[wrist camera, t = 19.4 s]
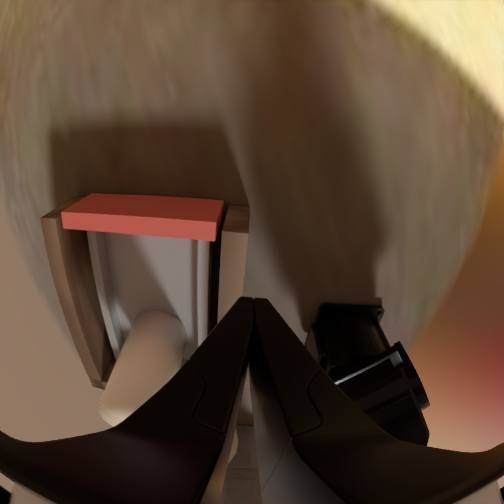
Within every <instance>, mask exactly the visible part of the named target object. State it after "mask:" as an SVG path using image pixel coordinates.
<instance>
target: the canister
mask: <svg viewBox="0 0 504 504" xmlns="http://www.w3.org/2000/svg"><path fill="white" fill-rule="evenodd" d="M186 339H187V332H186V329H185V327H184V325H183V324H182V323H181V322H180V321H179V320H178V319H177V318H176V317H175V316H173V315H171V314H169V313H167V312H164V311H160V310H146V311H143V312H141V313H139V314H138V315H137V316H136V318H135V320H134V322H133V324H132V327H131V329H130V331H129V333H128V335H127V338H126V340H125V342H124V344H123V347H122V349H121V351H120V354H119V356H118V358H117V361H116V363H115V366H114V368H113V370H112V373H111V375H110V378H109V380H108V383H107V385H106V388H105V390H104V393H103V395H102V398H101V401H100V404H99V406H98V412H99V414H100V415H101V417H102V418H103V419H104V420H105V421H106V422H107V423H109V424H110V425H112V426H113V427H114V426H116V425H117V424H119V423H121V422H122V421H123V420H125V419H126V418H127V417H128V416H129V415H131V414H132V413H133V412H134V411H135V410H137V409H138V408H139V407H140V406H141V405H142V404H144V403H145V402H146V401H147V400H148V399H149V398H151V397H152V396H153V395H154V394H155V393H156V392H157V391H158V390H160V389H161V388H162V387H163V386H164V385H165V384H166V383H167V382H168V381H169V380H170V379H171V378H172V377H173V376H174V375H175V374H176V373H177V372H178V370H179V369H180V366H181V362H182V357H183V353H184V348H185V344H186Z"/></svg>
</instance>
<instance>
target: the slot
mask: <svg viewBox="0 0 504 504" xmlns="http://www.w3.org/2000/svg"><path fill="white" fill-rule="evenodd" d="M83 198H85V197H74V198H72V199H71V200H69V201H67V202H66V203H64V204H62V205H61V206H59V207H57V208H56V209H54V210H52V211H51V212H49V213H48V214H46V215H44V216H43V217H41V224H42V230H43V235H44V240H45V245H46V250H47V255H48V259H49V263H50V268H51V272H52V276H53V279H54V283H55V287H56V290H57V294H58V297H59V300H60V304H61V307H62V310H63V313H64V316H65V319H66V322H67V325H68V328H69V330H70V333H71V336H72V338H73V341H74V344H75V346H76V349H77V351H78V354H79V356H80V358H81V361H82V363H83V365H84V368H85V370H86V372H87V374H88V377H89V379H90V381H91V383H92V385H93V387H97V388H100V389H104V390H105V388H106V385H107V383H108V380H109V378H110V375H111V373H112V370H113V368H114V366H115V363H116V359H115V356H114V353H113V350H112V346H111V343H110V340H109V336H108V333H107V329H106V325H105V322H104V318H103V314H102V310H101V306H100V301H99V297H98V293H97V288H96V283H95V278H94V273H93V268H92V262H91V256H90V250H89V244H88V237H87V230H75V229H63V223H62V215H61V212H62V211H64V210H65V209H67V208H68V207H70V206H72V205H73V204H75V203H76V202H78V201H80V200H81V199H83ZM249 211H250V207H244V206H233V205H229V207H228V211H227V215H226V218H225V222H224V226H223V230H222V240H221V257H220V276H219V297H218V322H217V324H218V323H219V321H220V320H221V319H222V318H223V316H224V315H225V314H226V313H227V312H228V310H229V309H230V308H231V307H232V305H233V304H234V303H235V302H236V300H237V299H238V298H239V297H241V296H242V292H243V282H244V273H245V263H246V253H247V243H248V233H249Z"/></svg>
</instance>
